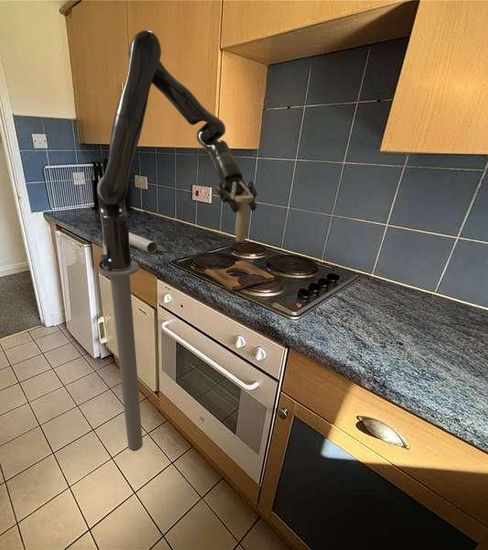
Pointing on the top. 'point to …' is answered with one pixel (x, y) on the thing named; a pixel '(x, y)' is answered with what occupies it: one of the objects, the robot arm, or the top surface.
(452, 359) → the top surface
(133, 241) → the tube
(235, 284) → the base pad
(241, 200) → the handle
